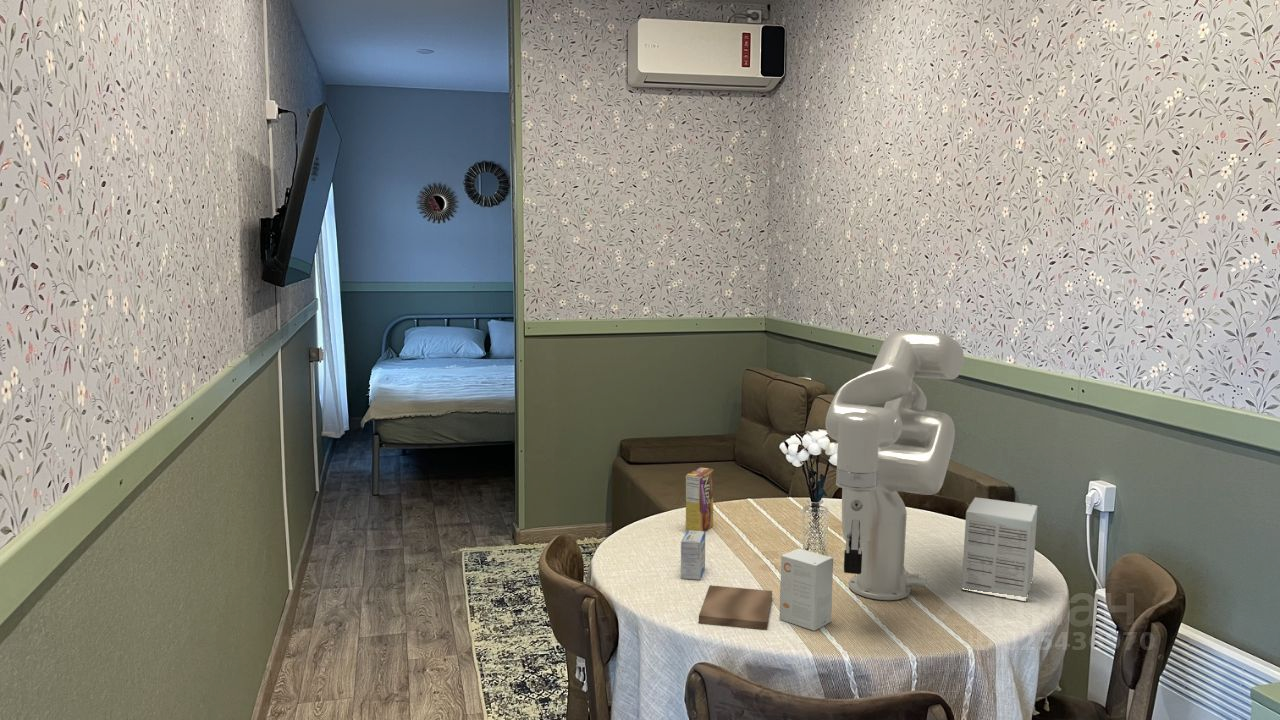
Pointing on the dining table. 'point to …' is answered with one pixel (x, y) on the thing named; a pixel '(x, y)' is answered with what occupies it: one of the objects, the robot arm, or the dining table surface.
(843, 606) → the dining table surface
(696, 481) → the candy box
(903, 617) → the dining table surface
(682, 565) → the medicine box
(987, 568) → the supplement box
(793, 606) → the small box
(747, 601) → the walnut board
